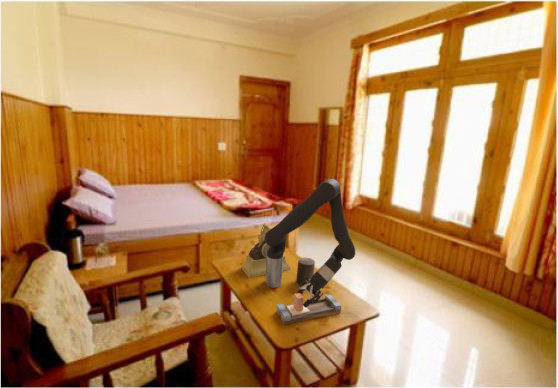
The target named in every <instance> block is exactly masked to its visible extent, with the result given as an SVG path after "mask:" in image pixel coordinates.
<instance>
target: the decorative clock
mask: <svg viewBox="0 0 558 388" xmlns="http://www.w3.org/2000/svg"><path fill="white" fill-rule="evenodd" d="M270 229H272V228H271V227H270V226H268V224H267V223H266V222H264V223H263V224H262V228H261V230H260V233H259V235H257V239H258V240H257V241H258V242H257V243H256V244H255V245H254V246H253V247H252V248H251V249H250V250H249V252H248V253H247V254H246V255H245V256H246V257H245V260H244V262H243V263H242V264H241V270H242V271H243V272H244V273H245V275H246V276H247V278H249V279H250V278H254V277H261V276H263V275H265V276H266V262H267V250H268V249H269V247H270V246H269V245H267V244H266V242H265V234H266V233H267V232H268V231H269V230H270ZM284 271H291V265H290V264H288V262H287V261H286V255H284V254H283V269H282V272H284Z"/></svg>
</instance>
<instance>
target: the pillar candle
mask: <svg viewBox="0 0 558 388" xmlns="http://www.w3.org/2000/svg"><path fill="white" fill-rule="evenodd" d="M315 265H316V261H315V259H313V258H310V257H306V256H305V257H300V258H298V261H297V270H296V279H295V281H296V284H297V285H298V286H299V285H300V284H301V283H302V282H303V281H304V280H305V279H306V278H307V277H308V278H309V279H310V280H311V279H312V278H311V277H312V276H313V275H314V274H315ZM303 285H304V284H303ZM303 285H302V286H303Z"/></svg>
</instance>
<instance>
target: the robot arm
mask: <svg viewBox="0 0 558 388" xmlns="http://www.w3.org/2000/svg"><path fill="white" fill-rule="evenodd" d="M341 190H342V189H341V186H340V182H338V181H337V180H336V179H334V178H328V179H326V180H324V181H322V182H321V183H320V184H319V185H318V186H317V187H316V189H315V190H314V191H313V192H312V193H311V194H310V195H309V196H308V197H307V198H305V199H304V200H302V201H300V203H299V204H297V205H296V206H295V207H293V209H291V210H290V211H289V212H288V213H287V214H286V215H285V217H283V218H282V219H281V220H280V222H278V223H277V224H276V225H274V227H272V228H271V229H270V230H269V231H268V232H267V233H266V234H265V242H266V244H267V245H269V246H270V247H269V249H268V250H267V262H266V274H265V282H264V283H265V285H266V287H268V288H271V289H272V288H275V289H276V288H279V287H280V286H282V282H283V281H282V280H283V271H282V269H283V255H284V253H285V251H286V246H287V245H286V243H287V236H288V235H289V234H290V233H292V232H294V231H295V230H297V229H298V228H300V227H301V226H303V225H304V224H305V223H306V222H308V221H309V220H310V219H312V217H313V216H314V215H315V213H316V212H317V211H318V210H319V209H321V208H322V207H323V206H324V205H326V204H327V203H329V208H330V224H331V229H332V233H333V237H334V239H335V240H336V242H337V243H338V244H337V245H336V246H335V247H334V250H333V251H332V253H331V255H330V256H329V258H328V259H327V260H326V261H325V262H324V264H322V265H321V266H320V267H319V268H318V269H317V270H316V271H314V275H313V276H312V277H311V278H312V279H311V280H310V279H309V278H308V277H307V278H306V279H305V280H304V281H303V282H302V283H301V284H300V285H298V287H299V289H298V291H296V292H295V294H297V293H300V294H301V295H303V293H304V292H308V293H309V295H308V298H307V299H306V300H305V301H304V302H305V303H304V304H303V306H304V307H305V308H306V307H308V306H309V305H310V304H311V303H312V302H313V303H316V302H317V301H318V300H319V299H322V298H321V297H323V295H324V293H323V292H322V291H321V290H322V289H324V288H325V287H326V285H328V284H329V282H330V281H331V280H332V279H333V278H334V276H335V275H336V273H338V272H339V270H340V269H341V268H342V265H343V264H342V261H343V260H348V261H351V260H353V259H354V258H355V256H356V247H355V245H354V242H353V241H352V238H351V236H350V234H349V230H348V225H347V223H346V222H347V221H346V217H345V213H344V207H343V202H342V200H343V199H342V193H341ZM303 284H304V285H303ZM302 285H303V286H302Z"/></svg>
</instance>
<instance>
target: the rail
mask: <svg viewBox="0 0 558 388" xmlns="http://www.w3.org/2000/svg"><path fill="white" fill-rule="evenodd" d="M303 303H305V301H303ZM289 305H294V303H292V304H287V305H284V303H277V304H276V313H277V316H278V317H279V319H280V320H281V321H282V324H283V325H289V324H294V323H299V322H303V321H307V320H313V319H317V318H321V317H326V316H330V315H335V314H339V313H341V312H342V305H341V303H340V302H339V301H338V300H337V299H336V298H335V297H334V296H333V295H332V294H331V293H330V294H325V296H324V298H320V299H319V300H318V301H317V302H316V303H313V302H312V303H311V304H310V305H309V306H308V307H307V308H308V309H309V311H310V313H305V314H300V315H296V316H291V315H290V313H289V312H288V310H287V309H286V306H289Z"/></svg>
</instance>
